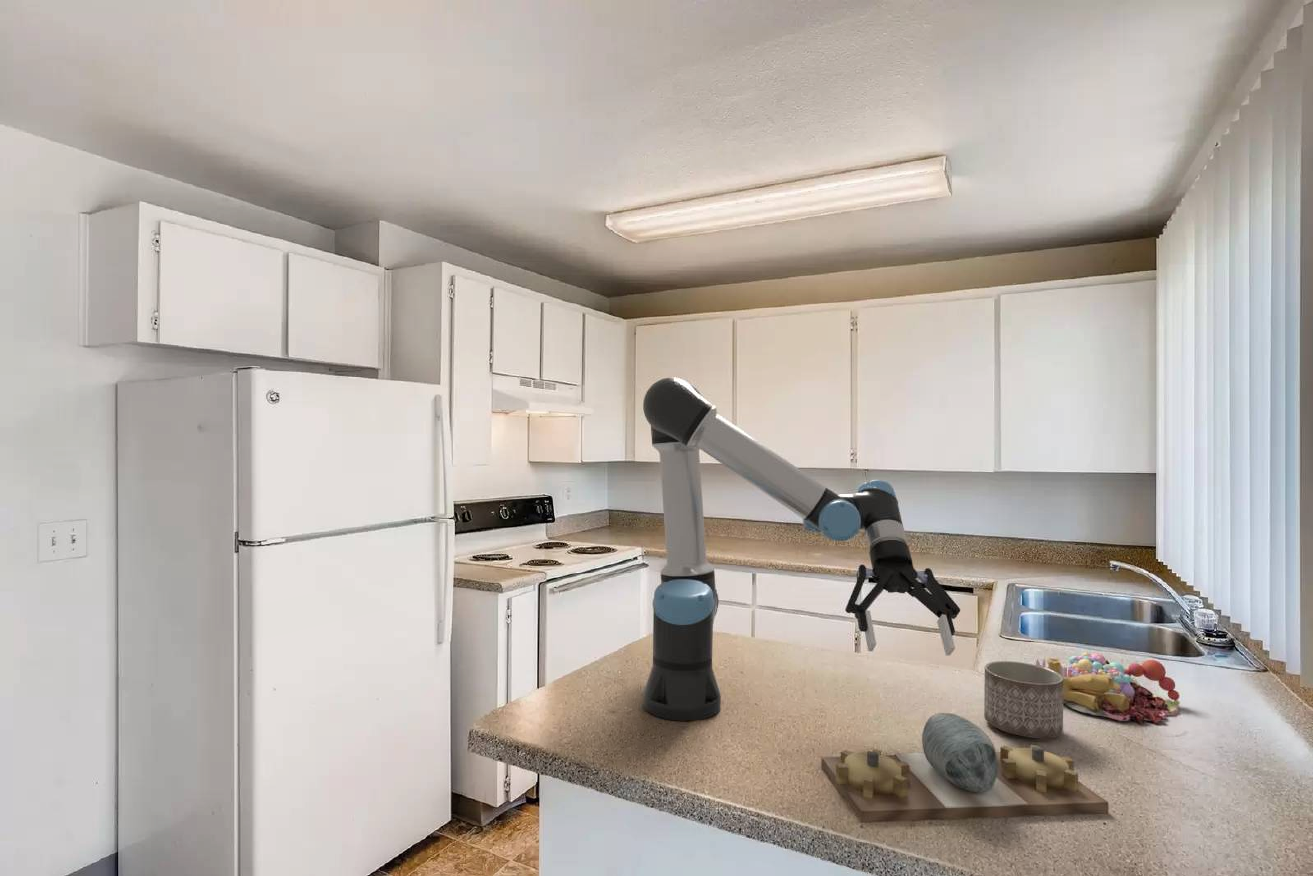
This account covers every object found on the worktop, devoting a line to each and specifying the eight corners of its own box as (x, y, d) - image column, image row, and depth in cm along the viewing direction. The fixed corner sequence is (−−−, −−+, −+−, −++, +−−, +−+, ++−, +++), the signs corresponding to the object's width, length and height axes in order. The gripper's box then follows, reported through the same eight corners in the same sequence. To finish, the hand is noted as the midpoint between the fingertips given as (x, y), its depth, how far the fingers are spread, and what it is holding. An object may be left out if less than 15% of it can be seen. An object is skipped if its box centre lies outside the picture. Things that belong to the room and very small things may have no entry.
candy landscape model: (1153, 737, 122) (1154, 685, 122) (1016, 698, 140) (1016, 653, 140) (1188, 704, 138) (1188, 658, 138) (1061, 673, 156) (1061, 633, 156)
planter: (988, 737, 120) (988, 678, 120) (980, 711, 132) (981, 657, 132) (1070, 749, 115) (1070, 688, 116) (1054, 721, 127) (1055, 666, 127)
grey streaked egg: (1023, 781, 94) (983, 710, 96) (961, 810, 94) (923, 739, 97) (990, 761, 107) (956, 699, 110) (936, 787, 107) (903, 724, 110)
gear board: (858, 822, 92) (858, 781, 92) (819, 766, 108) (819, 731, 108) (1111, 812, 95) (1111, 773, 95) (1036, 760, 111) (1036, 726, 111)
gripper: (946, 562, 135) (975, 663, 121) (821, 556, 136) (835, 655, 121) (958, 541, 130) (991, 643, 115) (828, 534, 131) (844, 635, 116)
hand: (911, 650), depth 118 cm, fingers open, 13 cm apart
